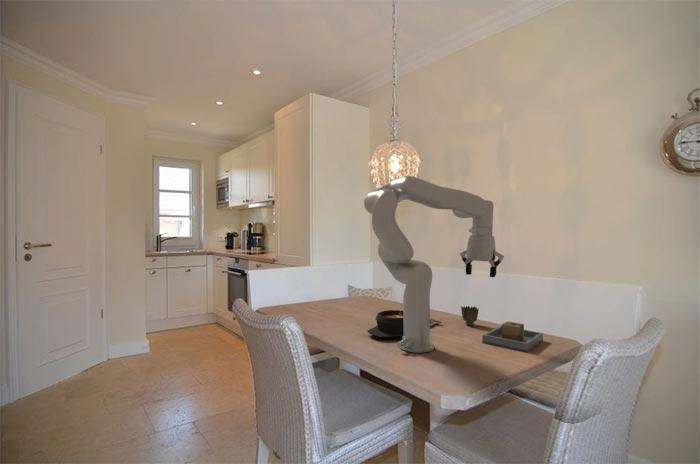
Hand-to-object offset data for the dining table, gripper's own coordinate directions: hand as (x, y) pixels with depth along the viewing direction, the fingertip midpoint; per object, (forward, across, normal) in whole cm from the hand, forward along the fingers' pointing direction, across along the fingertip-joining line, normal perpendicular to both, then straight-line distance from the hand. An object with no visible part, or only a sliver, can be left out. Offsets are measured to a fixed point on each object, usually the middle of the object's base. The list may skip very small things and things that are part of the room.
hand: (480, 275), depth 142 cm
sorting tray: (+24, +11, +7) cm, 28 cm away
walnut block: (+24, +11, +7) cm, 27 cm away
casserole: (+26, -28, -16) cm, 42 cm away
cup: (+25, -13, +18) cm, 33 cm away
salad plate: (+26, -32, +5) cm, 42 cm away
